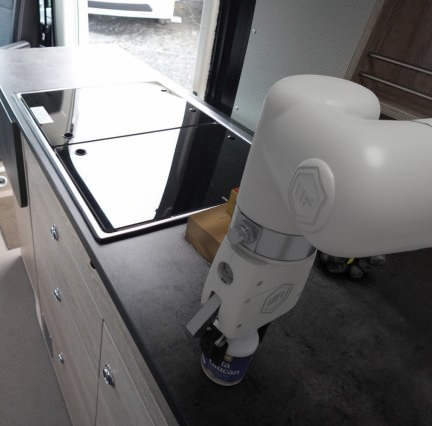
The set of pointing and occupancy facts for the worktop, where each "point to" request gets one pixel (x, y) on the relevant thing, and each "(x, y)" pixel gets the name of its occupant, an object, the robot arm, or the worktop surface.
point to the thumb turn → (232, 201)
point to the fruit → (352, 264)
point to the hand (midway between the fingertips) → (230, 343)
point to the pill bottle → (232, 359)
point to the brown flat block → (208, 230)
